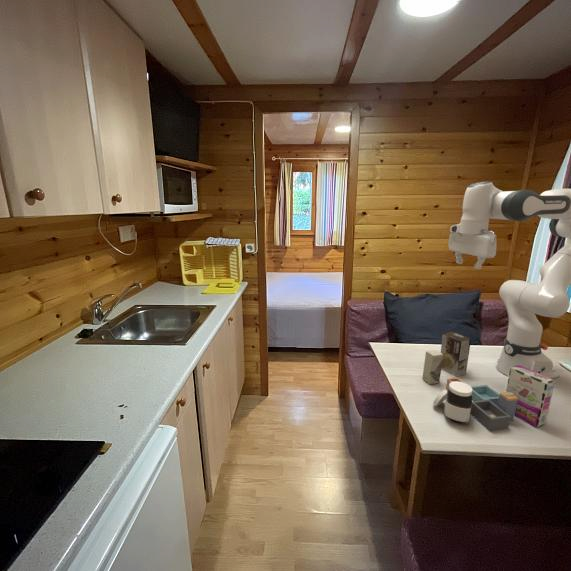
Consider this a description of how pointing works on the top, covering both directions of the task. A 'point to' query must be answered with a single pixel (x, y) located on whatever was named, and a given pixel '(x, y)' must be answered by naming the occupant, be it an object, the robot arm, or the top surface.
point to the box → (432, 366)
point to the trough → (484, 394)
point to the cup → (452, 381)
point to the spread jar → (456, 401)
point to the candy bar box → (530, 394)
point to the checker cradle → (490, 415)
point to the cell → (508, 403)
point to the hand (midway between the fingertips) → (468, 266)
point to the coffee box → (455, 353)
